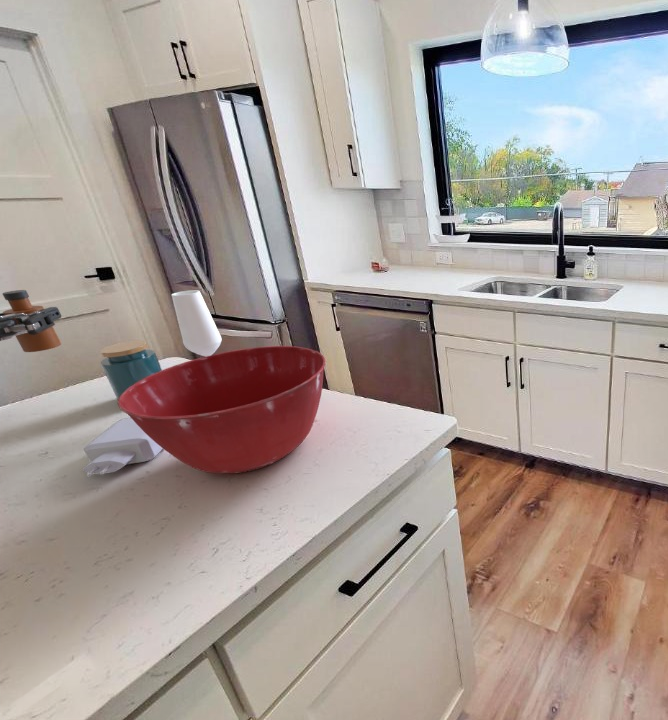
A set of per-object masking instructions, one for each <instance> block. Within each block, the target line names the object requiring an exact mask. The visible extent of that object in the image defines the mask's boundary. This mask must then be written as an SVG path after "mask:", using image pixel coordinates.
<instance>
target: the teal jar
mask: <svg viewBox="0 0 668 720" xmlns="http://www.w3.org/2000/svg"><path fill="white" fill-rule="evenodd" d="M148 347H149V345H148V342H147V341H146V340H129V341H123V342H118V343H114V344H111V345H108V346H105V347H103V348H101V349H99V353H100V356H101V357H103V358H104V359H102V360H101V361H100V363H99V364H100V366H101V368H102V370H103V372H104V375H105V376H106V379H107V381H108V383H109V385H110V387H111V389H112V391H113V394H114V397H115V398H116V400H117V401H118V400H119V397H120V396H121V395H122V393H123V392H124V391H125V390H127V389H128V388H129V387H130V386H132V385H134V384H135V383H137V382H139V381H140V380H142V379H144V378H146V377H148V376H150V375H152V374H154V373H157V372H159V371H161V370H163V368H162V366H161V364H160V362H159V359H158V356H157V354H156V351H155V350H154V349H148Z"/></svg>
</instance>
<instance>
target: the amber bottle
mask: <svg viewBox="0 0 668 720" xmlns="http://www.w3.org/2000/svg"><path fill="white" fill-rule="evenodd" d="M2 296H3V298H4V300H5V301H7V302H8V304H9V306H10V309H6V310H4V311H3V312H2V313H3V314H4V315H9V314H13V313H23V314H27V313H32V312H34V311H40V310H43V309H45V308H44V306H43V305H32V303H31V301H30V296H29V293H28V291H27V290H26V289H18V290H10V291H5V292H2ZM28 318H29V317H28ZM12 319H13V320H15V321H16V323H17V325H19V324H18V322H17V320H16V318H12ZM15 338H16V340H17V342H18V344H19V345H20V348H21V349H22V351H23V352H24V353H36V352H43V351H47V350H52V349H55V348H57V347H60V346H62V343H61V340H60V338H59V336H58V334H57V331H56V330H55V328H54V326H52V327H50V328H48V329H46V330H44V331H42V332H40V333H37V334H35V335H29V334H28V333H24V334H20V335H16V336H15Z"/></svg>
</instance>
